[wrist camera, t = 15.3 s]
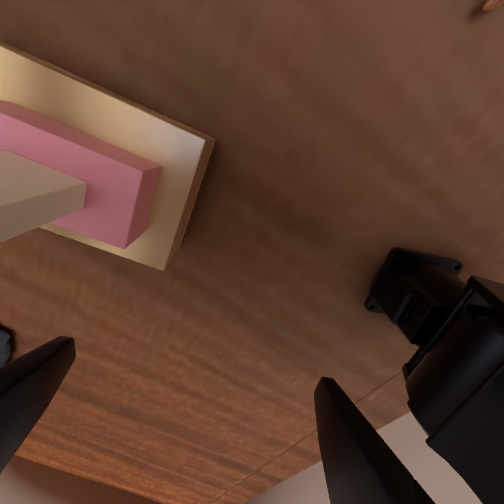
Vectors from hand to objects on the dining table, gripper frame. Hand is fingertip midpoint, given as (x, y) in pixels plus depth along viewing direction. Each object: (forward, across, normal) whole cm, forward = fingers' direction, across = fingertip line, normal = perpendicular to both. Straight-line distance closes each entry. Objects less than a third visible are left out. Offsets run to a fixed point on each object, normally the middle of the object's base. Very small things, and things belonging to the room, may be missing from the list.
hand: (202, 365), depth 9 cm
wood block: (+13, +10, -4) cm, 17 cm away
